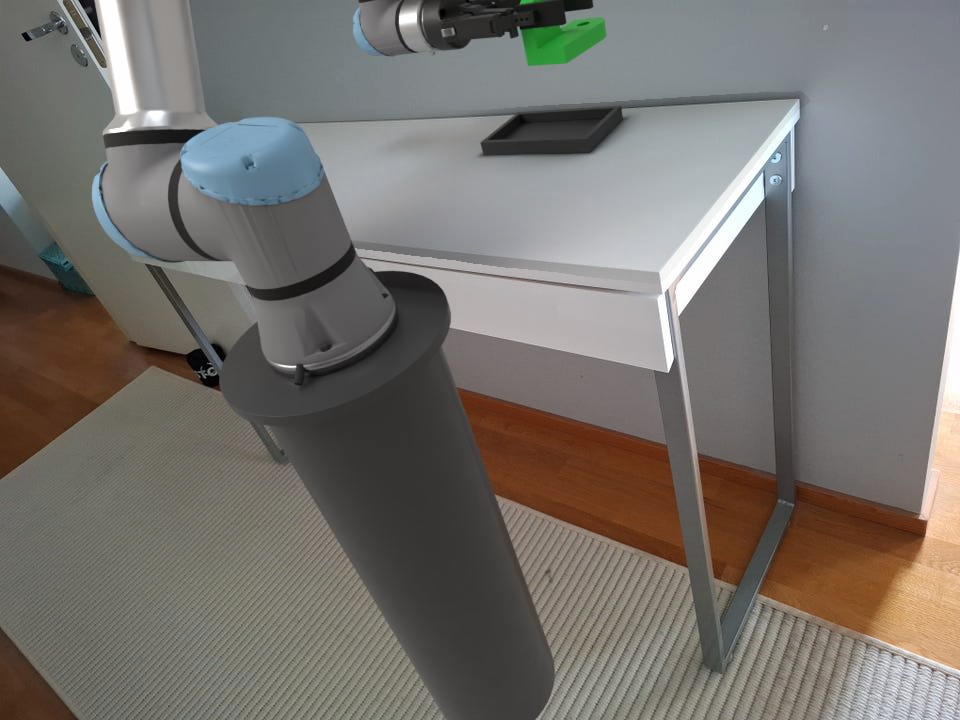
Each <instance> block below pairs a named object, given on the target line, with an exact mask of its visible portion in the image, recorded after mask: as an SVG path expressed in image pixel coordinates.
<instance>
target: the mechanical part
mask: <svg viewBox="0 0 960 720" xmlns="http://www.w3.org/2000/svg"><path fill="white" fill-rule="evenodd" d="M540 1H547V0H521V2H520V4H526V3H533V2H540ZM520 33H521V39H522V43H523V48H524V53H525V58H526V62H527V66H528V67H537V66H551V65H566V64H567V65H568V63H570V62H571V61H573V60H574V59H576V58H577V57H579V56H580V55H582V54H583V53H585V52H586V51H588V50H589V49H591V48H592V47H594V46H595V45H597V44H599V43H600V42H602V41H603V40H605V39H606V38H607V28H606V21H605V17H600V16H599V17H596V16H595V17H589V18H587V17H586V18H580V19H579V18H578V19H574V20H571V21H570V22H568V23H566V24H564V25H563V26H562V27H561V25H559V26H550V27H541V28H532V29H523V30H520Z"/></svg>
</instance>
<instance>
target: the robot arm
mask: <svg viewBox="0 0 960 720" xmlns="http://www.w3.org/2000/svg"><path fill="white" fill-rule="evenodd" d="M520 2H521V0H358V2H357V3H358V6H359V7H358V8H357V9H356V10H355V12H354V15H353V17H352V34H353V37H354V40H355V43H357V45H358V47H359V48H360V49H361V50H362V51H363V52H364V53H366V54H367V55H370V56H372V57H373V56H374V57H387V58H388V57H390V58H391V57H395V56H401V55H410V54H420V53H427V52H428V53H429V55H430V56H435V55H437V52H439V51H443V52H446V51H455V50H456V51H457V50H461V49H464V48H466V47H467V46H468V45H469V44H470V42H471V41H472V40H481V39H492V38H493V39H494V38H502V37H503V36H505V35H506V33H508V34H509V38H510V39H516V38H518V37H519V36H520V35H519V31H521V30H523V29H532V28H541V27H550V26H559V25H560V26H565V25H567V17H566V13H567V12H574V11H575V12H576V11H584V10H591V9H593V8H594V1H593V0H547V1H540V2H533V3H526V4H520ZM94 5H95V10H96V15H97V21H98V27H99V31H100V36H101V42H102V48H103V53H104V57H105V58H104V59H105V64H106V69H107V75H108V79H109V80H108V81H109V86H110V91H111V96H112V101H113V108H114V113H115V114H114V117H113V118H112V120H111V121H110V122H109V123H108V125H106V127H105V128H104V129H103V131H102V139H103V143H104V148H105V154H106V159H107V161H105V162H104V163H102V165H101V166H100V167H99V171H98V173H97V174H96V175H94V178H93V181H92V186H91V200H92V206H93V210H94V213H95V216H96V218H97V220H98V222H99V224H100V226H101V228H102V229H103V230H104V232H105V233H106V234H107V235H108V237H109V238H110V239H111V240H112V241H113V242H114V243H115V244H116V245H118V246H119V247H121V248H122V249H123V250H124V251H126V252H128V253H130V254H132V255H134V256H135V257H139V258H142V259H146V260H153V261H159V262H163V263H166V264H167V263H168V264H177V263H182V262H232V263H233V264H234V266H235V267H236V269H237V271H238V273H239V275H240V276H241V278H242V280H243V283H244V285H246V287H247V290H248V291H249V294H250V295H251V297H252V299H253V302H254V309H255V316H256V322H258V328H259V334H260V339H261V341H260V342H261V348H262V352H263V354H264V356H265V358H266V360H267V362H268V363H269V365H270V367H271V368H272V370H274V371H275V372H276V373H277V374H280V375H282V376H285V377H289V378H295V379H294V384H295V385H298V386H302V385H303V382H304V378H313V377H319V376H324V375H327V374H331V373H334V372H337V371H340V370H342V369H345V368H347V367H349V366H351V365H354V364H355V363H357V362H359V361H361V360H363V359H364V358H366V357H367V356H369V355H370V354H372V353H373V352H374V351H376V350H377V349H378V348H379V347H380V346H382V345H383V344H384V343H385V342H386V341H387V339H388V338H389V337H390V336H391V334H392V333H393V331H394V330H395V328H396V326H397V323H398V317H399V315H398V310H397V307H396V305H395V302H394V300H393V297H392V295H391V294H390V293H389V291H388V290H387V289H386V288H385V287H384V286H383V284H382V283H381V282H380V281H379V280H378V279H377V277H376V276H375V275H377V274H376V273H375V272H376V271H375V270H374V269H373V268H372V267H369V266H368V265H366V263H364V261H363V260H362V259H361V258H360V257H359V255H358V252H357V251H356V248H355V246H354V243H353V241H352V238H351V235H350V233H349V230H348V228H347V226H346V222H345V221H344V220H345V219H344V217H343V215H342V212H341V210H340V207H339V205H338V202H337V199H336V197H335V195H334V192H333V189H332V187H331V184H330V182H329V178H328V175H326V171H325V169H324V165H323V163H322V160H321V158H320V156H319V155H318V154H317V152H316V151H315V149H314V147H313V145H312V142H311V140H310V139H309V136H308V135H307V133H306V132H305V131H304V129H303V128H302V127H301V126H300V125H298V124H297V123H295V122H294V121H292V120H290V119H286V118H282V117H274V116H256V117H246V118H242V119H241V120H239V121H238V120H237V121H233V122H232V121H228V122H225V123H221V124H218V123H217V122H216V121H214V119H212V118H211V117H210V116H209V115H208V113H207V110H206V105H205V104H206V103H205V97H204V91H203V84H202V76H201V71H200V65H199V64H200V63H199V57H198V52H197V51H198V50H197V46H196V45H197V44H196V38H195V31H194V25H193V20H192V19H193V18H192V13H191V6H190V0H94ZM518 27H519V30H518ZM374 274H375V275H374Z"/></svg>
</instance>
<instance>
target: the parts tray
mask: <svg viewBox="0 0 960 720" xmlns="http://www.w3.org/2000/svg"><path fill="white" fill-rule="evenodd" d="M623 120H624V116H623V107H622V105H610V106H595V107H594V106H593V107H580V108H562V109H548V110H545V109H544V110H532V111H518V112H517V113H515V114H514V115H513V116H511V117H510V118H509V119H507V120H506V121H505V122H504V123H502V124H501V125H500V126H499V127H498V128H497V129H495V130H493V132H492V133H490V134H489V135H487V136H486V137H485V138H484V139H482V141H480V146H481V151H482V154H483V156H498V155H499V156H502V155H504V156H505V155H506V156H507V155H544V154H545V155H549V154H587V153H588V154H591V152H592V151H593V150H594V149H595V148H596V147H597V146H598V145H599V144H600V143H601V142H602V141H603V140H604V139H605V138H606V137H607V136H608V135H609V134H610V133H611V132H612V131H613V130H614V129H615V128H616V127H617V126H618V125H619V124H620V123H621V122H622V121H623Z"/></svg>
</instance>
